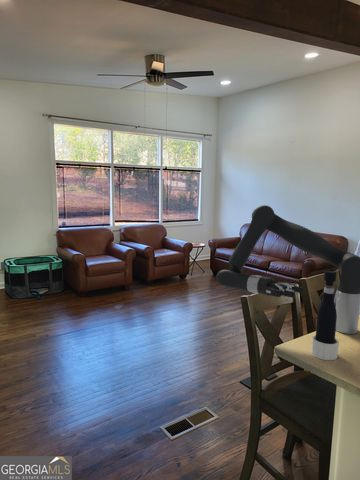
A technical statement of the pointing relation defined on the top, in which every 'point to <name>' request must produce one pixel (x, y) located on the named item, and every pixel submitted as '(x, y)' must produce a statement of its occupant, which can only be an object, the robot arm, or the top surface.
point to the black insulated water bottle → (327, 312)
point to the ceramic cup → (325, 349)
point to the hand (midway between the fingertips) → (299, 292)
